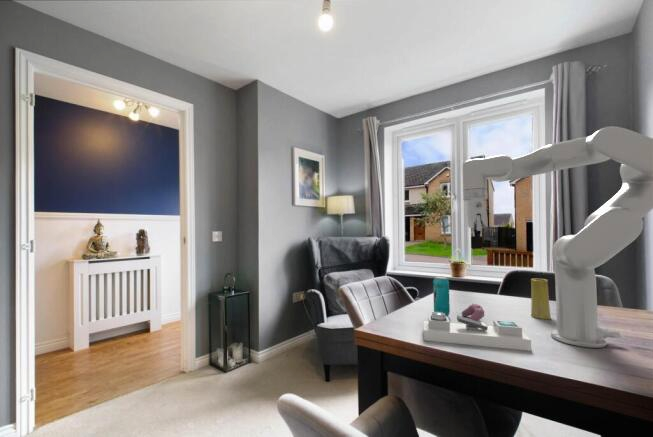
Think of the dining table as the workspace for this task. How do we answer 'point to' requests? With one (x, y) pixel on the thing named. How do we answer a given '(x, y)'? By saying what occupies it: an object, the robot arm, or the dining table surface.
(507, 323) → the teal button
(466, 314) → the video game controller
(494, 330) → the control panel
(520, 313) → the dining table surface
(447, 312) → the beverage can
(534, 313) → the vase
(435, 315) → the steel button
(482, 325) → the rocker switch
